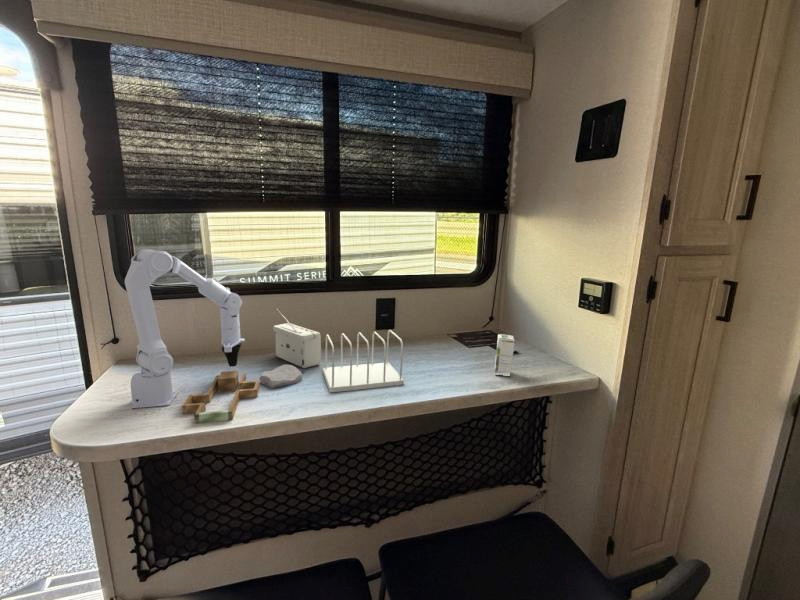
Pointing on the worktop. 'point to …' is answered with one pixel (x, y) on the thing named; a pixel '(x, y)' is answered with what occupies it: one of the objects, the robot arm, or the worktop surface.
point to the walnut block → (228, 381)
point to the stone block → (281, 376)
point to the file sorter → (362, 369)
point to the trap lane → (199, 400)
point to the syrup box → (504, 353)
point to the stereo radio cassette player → (297, 344)
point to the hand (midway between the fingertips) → (233, 365)
